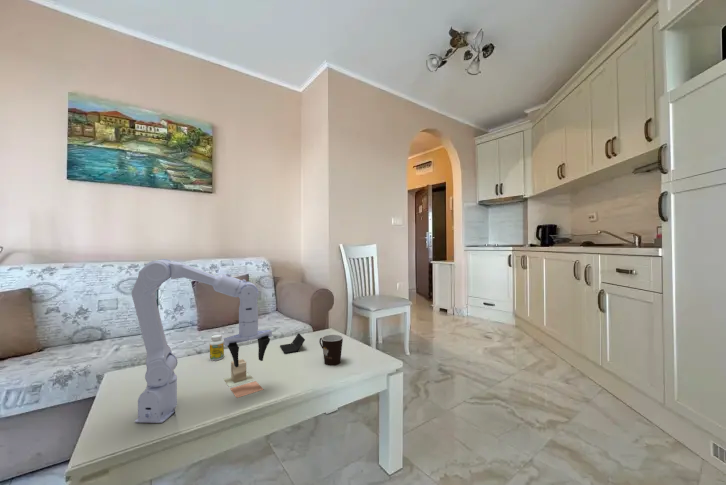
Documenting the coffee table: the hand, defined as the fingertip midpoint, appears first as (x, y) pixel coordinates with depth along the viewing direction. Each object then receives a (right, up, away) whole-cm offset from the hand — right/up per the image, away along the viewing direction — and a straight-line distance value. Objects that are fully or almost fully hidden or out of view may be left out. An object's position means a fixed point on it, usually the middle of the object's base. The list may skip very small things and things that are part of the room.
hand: (248, 363), depth 96 cm
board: (-4, -10, +5) cm, 12 cm away
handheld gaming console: (+4, -11, +42) cm, 44 cm away
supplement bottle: (-25, -11, +31) cm, 41 cm away
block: (-7, -9, +9) cm, 15 cm away
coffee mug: (+24, -10, +27) cm, 38 cm away
